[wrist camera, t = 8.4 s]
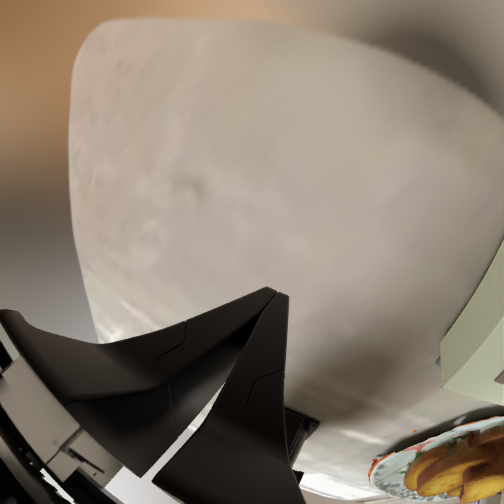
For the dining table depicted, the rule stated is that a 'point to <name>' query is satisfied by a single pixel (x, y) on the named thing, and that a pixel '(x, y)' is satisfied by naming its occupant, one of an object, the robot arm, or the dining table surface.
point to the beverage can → (491, 499)
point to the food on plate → (446, 466)
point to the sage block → (478, 341)
